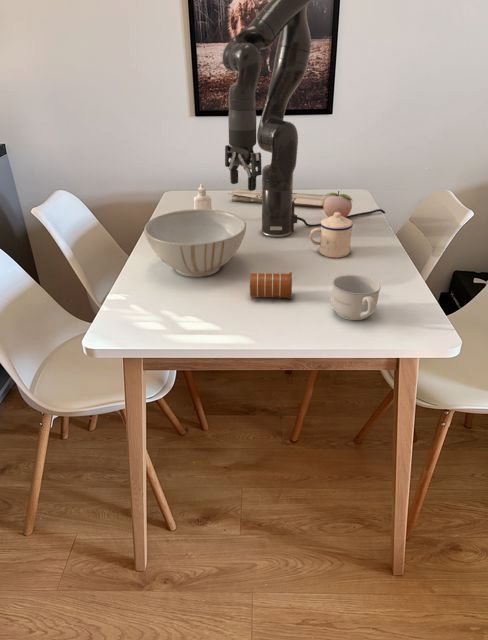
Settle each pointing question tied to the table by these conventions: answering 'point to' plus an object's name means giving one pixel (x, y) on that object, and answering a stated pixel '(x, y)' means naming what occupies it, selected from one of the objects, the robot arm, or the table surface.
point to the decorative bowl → (196, 239)
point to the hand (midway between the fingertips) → (243, 186)
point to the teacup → (354, 296)
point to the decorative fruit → (337, 204)
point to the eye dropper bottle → (202, 199)
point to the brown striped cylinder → (271, 285)
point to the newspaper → (296, 197)
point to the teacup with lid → (334, 236)
